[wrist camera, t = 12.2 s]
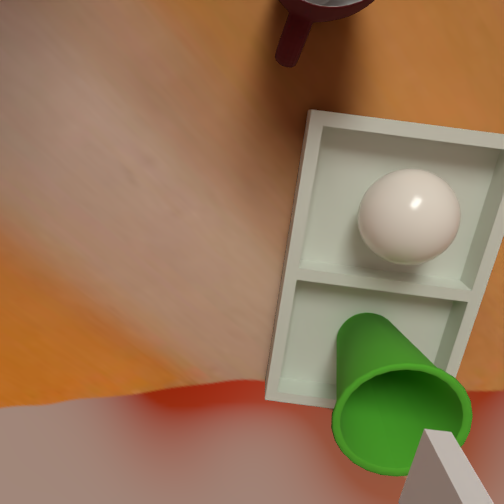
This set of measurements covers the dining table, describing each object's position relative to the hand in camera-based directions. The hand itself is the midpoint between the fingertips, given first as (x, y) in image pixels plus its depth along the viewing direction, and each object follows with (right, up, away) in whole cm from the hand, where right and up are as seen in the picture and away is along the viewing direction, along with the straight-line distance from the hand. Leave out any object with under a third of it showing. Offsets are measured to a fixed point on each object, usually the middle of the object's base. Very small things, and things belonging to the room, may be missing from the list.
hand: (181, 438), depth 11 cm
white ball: (+13, +9, +22) cm, 27 cm away
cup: (+12, -2, +26) cm, 29 cm away
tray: (+13, +3, +25) cm, 28 cm away
